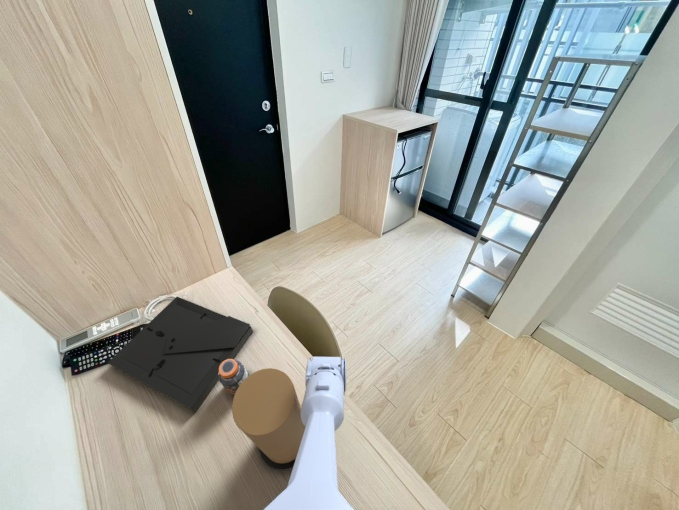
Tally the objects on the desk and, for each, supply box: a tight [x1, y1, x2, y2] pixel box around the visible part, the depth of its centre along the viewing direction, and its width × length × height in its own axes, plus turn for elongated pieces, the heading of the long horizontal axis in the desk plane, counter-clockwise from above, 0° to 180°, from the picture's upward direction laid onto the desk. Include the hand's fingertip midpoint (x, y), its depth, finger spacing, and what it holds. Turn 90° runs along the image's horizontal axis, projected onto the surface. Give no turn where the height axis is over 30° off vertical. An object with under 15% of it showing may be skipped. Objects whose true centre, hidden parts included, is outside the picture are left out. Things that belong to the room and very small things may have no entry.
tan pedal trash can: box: [231, 367, 305, 463], centre depth 53 cm, size 10×16×24 cm, turn 121°
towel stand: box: [258, 448, 296, 472], centre depth 61 cm, size 12×12×1 cm
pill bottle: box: [218, 359, 250, 398], centre depth 65 cm, size 6×6×11 cm
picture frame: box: [107, 296, 254, 413], centre depth 75 cm, size 23×4×28 cm
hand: (330, 416), depth 60 cm, fingers closed
